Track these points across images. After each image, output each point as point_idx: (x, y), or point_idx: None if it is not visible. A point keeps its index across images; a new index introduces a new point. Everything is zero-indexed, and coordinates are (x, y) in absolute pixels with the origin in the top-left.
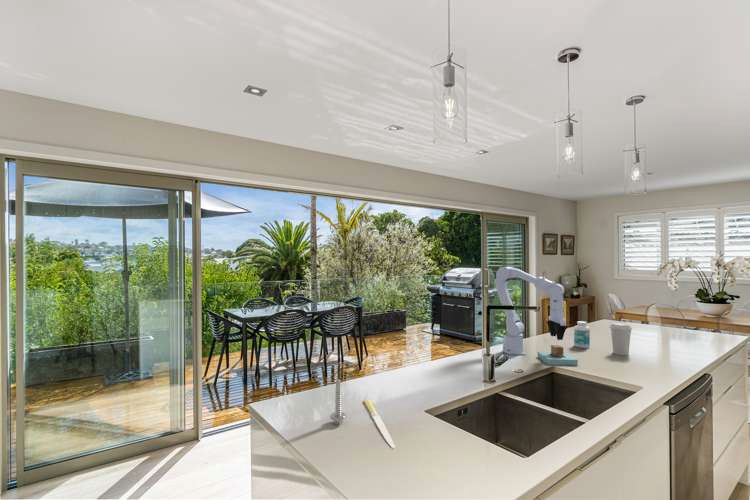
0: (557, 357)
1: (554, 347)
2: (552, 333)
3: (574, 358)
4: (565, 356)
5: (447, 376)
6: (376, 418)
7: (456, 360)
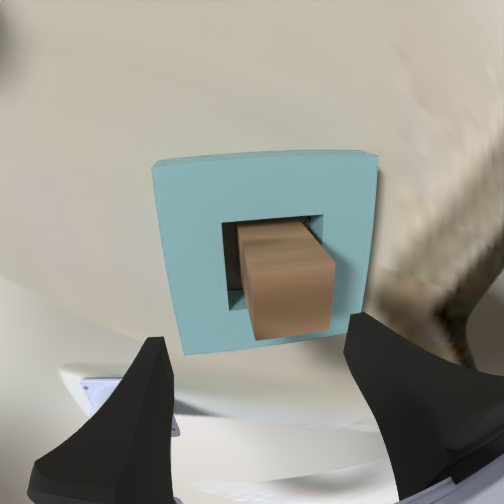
0: None
1: (325, 327)
2: (169, 391)
3: (347, 163)
4: (295, 209)
5: (389, 476)
6: None
7: (280, 496)
